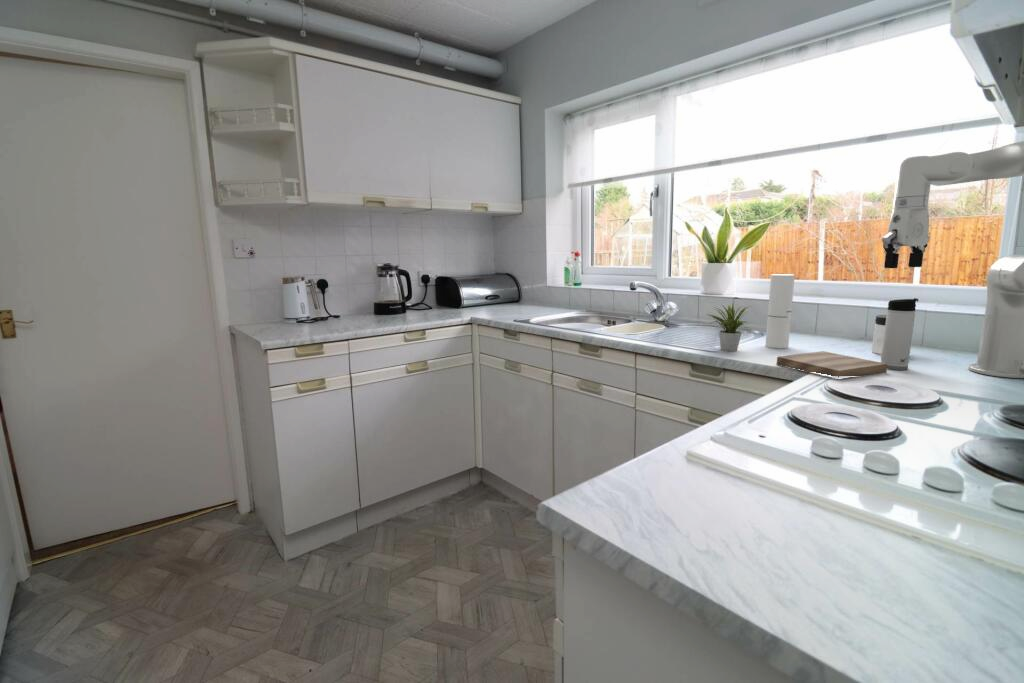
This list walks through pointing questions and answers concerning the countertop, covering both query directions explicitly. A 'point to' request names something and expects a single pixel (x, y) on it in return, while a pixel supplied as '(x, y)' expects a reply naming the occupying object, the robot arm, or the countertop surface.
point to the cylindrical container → (779, 310)
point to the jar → (879, 334)
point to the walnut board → (832, 364)
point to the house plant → (729, 328)
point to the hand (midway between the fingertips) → (902, 267)
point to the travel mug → (898, 333)
